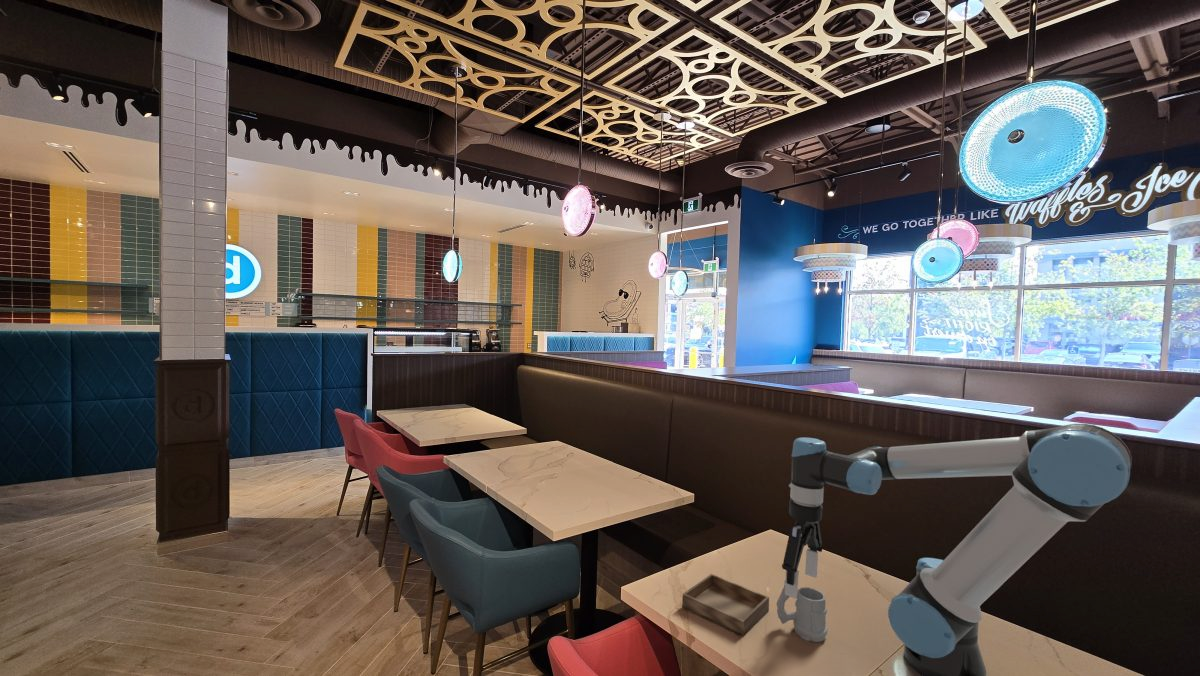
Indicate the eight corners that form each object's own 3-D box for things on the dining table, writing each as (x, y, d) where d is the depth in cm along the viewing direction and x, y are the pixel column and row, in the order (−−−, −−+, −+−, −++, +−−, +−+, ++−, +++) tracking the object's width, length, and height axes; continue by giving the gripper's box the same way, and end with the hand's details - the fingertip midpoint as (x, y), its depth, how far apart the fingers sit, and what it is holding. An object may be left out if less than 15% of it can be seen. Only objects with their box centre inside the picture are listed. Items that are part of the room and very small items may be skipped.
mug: (829, 646, 116) (831, 596, 116) (776, 635, 120) (778, 587, 119) (824, 627, 123) (826, 580, 123) (775, 617, 127) (776, 572, 127)
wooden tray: (768, 611, 130) (769, 597, 130) (742, 637, 119) (743, 621, 118) (710, 586, 141) (711, 573, 141) (682, 608, 130) (682, 594, 130)
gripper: (808, 486, 133) (804, 562, 133) (770, 510, 114) (765, 599, 115) (837, 493, 128) (833, 573, 128) (803, 519, 109) (798, 612, 110)
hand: (801, 585), depth 122 cm, fingers open, 13 cm apart
